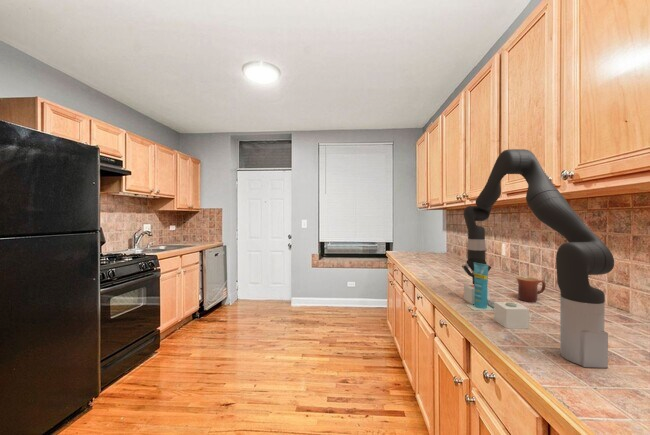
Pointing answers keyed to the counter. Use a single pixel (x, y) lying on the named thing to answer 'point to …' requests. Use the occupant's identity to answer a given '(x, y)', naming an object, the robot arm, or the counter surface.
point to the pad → (479, 308)
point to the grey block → (472, 293)
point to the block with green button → (511, 315)
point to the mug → (529, 288)
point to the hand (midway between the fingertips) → (476, 285)
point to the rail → (490, 302)
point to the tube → (480, 285)
